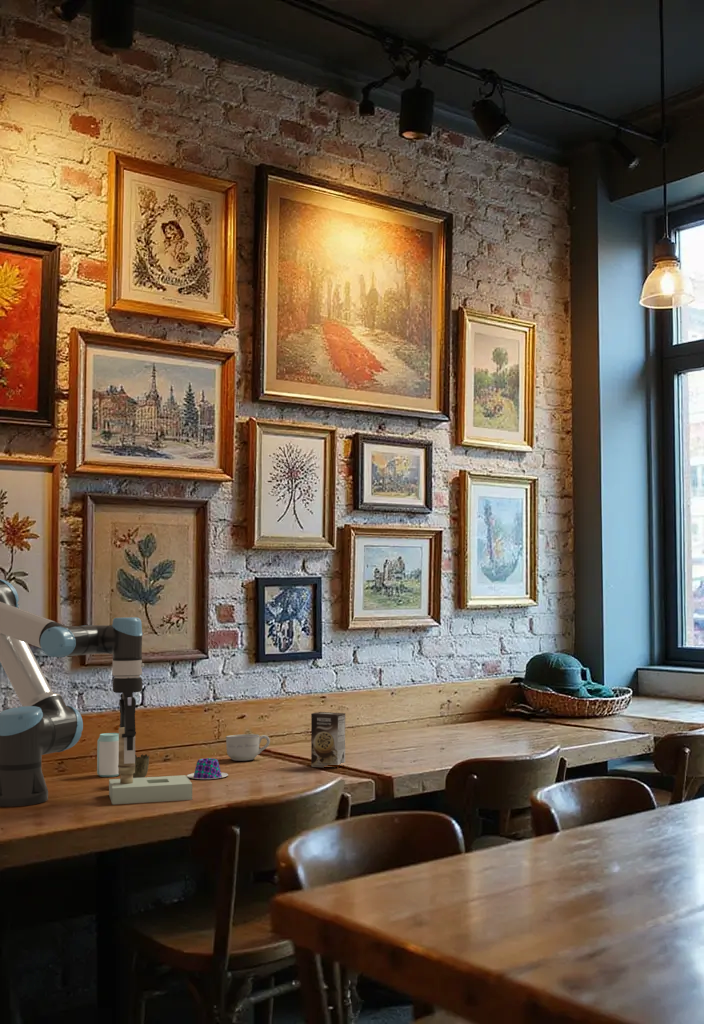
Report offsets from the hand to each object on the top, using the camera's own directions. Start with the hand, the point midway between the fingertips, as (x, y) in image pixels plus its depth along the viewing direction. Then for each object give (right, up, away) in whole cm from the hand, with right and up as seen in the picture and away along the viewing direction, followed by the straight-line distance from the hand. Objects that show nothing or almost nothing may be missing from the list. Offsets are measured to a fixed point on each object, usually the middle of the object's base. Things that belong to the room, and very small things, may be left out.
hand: (127, 759), depth 275 cm
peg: (0, -6, 0) cm, 6 cm away
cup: (-2, -12, +19) cm, 23 cm away
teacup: (+25, -15, +64) cm, 70 cm away
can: (-13, -13, +36) cm, 40 cm away
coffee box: (+51, -14, +49) cm, 72 cm away
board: (+6, -10, +1) cm, 11 cm away
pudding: (+16, -13, +32) cm, 38 cm away
